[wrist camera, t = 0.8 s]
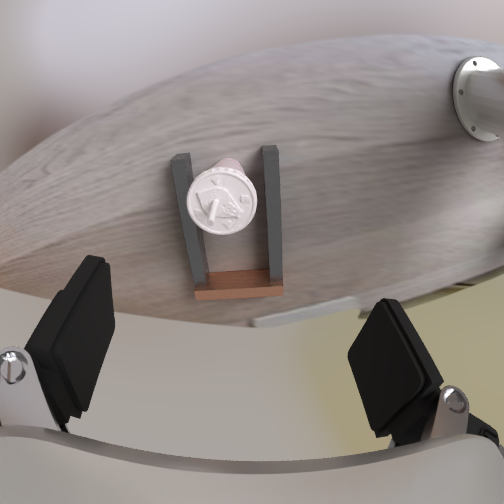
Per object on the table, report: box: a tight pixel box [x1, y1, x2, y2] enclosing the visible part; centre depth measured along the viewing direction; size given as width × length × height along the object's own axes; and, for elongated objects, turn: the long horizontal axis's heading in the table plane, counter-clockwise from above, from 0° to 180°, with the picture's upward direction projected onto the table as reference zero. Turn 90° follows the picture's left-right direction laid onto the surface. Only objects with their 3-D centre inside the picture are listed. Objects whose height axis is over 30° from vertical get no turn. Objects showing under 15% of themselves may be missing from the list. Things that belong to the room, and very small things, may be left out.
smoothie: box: [187, 158, 257, 235], centre depth 29 cm, size 6×6×14 cm
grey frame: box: [171, 145, 283, 300], centre depth 36 cm, size 12×19×4 cm, turn 4°
